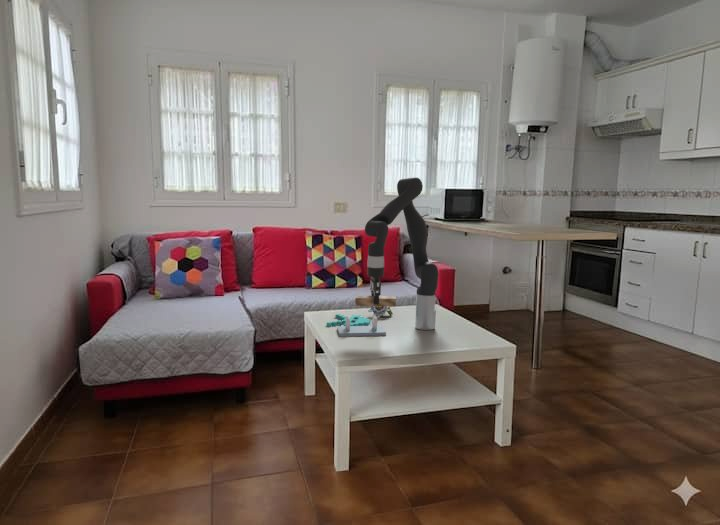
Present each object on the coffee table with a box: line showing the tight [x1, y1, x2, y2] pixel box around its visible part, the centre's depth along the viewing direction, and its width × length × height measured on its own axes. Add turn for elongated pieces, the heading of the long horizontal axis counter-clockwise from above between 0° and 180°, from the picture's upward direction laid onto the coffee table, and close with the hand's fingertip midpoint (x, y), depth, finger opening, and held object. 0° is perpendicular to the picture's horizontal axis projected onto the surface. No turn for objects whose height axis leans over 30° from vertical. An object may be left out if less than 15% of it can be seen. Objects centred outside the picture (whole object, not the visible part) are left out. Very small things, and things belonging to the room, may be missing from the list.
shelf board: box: [354, 294, 397, 307], centre depth 219 cm, size 18×6×4 cm, turn 90°
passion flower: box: [368, 306, 394, 319], centre depth 265 cm, size 11×11×12 cm
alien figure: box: [326, 313, 372, 328], centre depth 250 cm, size 20×2×20 cm
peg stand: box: [336, 315, 387, 337], centre depth 233 cm, size 22×12×8 cm, turn 98°
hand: (375, 302), depth 219 cm, fingers closed on shelf board, 6 cm apart
